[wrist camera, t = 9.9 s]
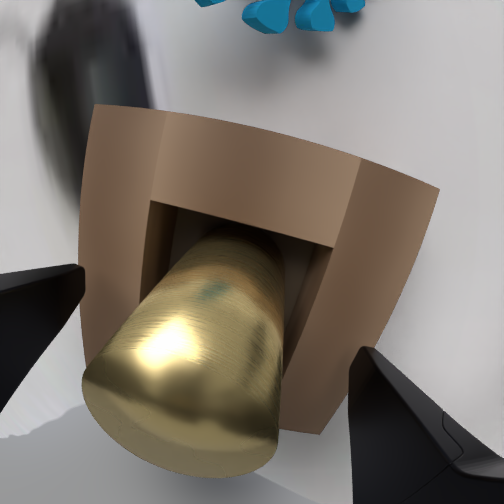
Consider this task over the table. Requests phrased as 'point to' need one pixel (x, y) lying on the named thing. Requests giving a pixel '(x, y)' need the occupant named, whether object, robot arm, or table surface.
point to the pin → (199, 361)
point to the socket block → (255, 215)
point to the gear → (307, 17)
